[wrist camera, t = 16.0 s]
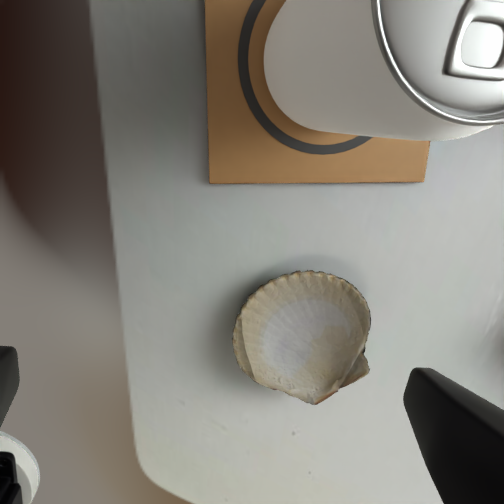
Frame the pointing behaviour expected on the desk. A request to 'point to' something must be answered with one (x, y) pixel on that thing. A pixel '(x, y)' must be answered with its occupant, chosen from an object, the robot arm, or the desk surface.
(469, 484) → the robot arm
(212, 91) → the circle card
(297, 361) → the seashell
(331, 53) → the can
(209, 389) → the desk surface
